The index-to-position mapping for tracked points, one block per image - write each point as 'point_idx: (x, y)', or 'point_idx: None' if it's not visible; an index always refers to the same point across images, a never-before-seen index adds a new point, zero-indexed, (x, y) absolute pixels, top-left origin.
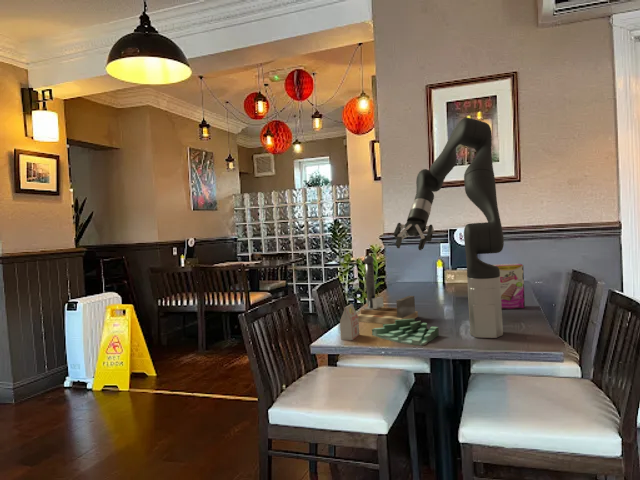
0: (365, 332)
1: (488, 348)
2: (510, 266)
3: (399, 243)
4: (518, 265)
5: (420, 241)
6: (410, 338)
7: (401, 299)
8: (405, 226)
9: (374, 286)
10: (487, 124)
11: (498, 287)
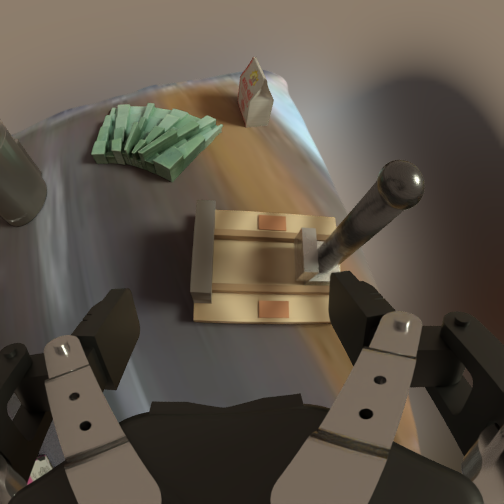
0: (244, 142)
1: (32, 135)
2: None
3: (340, 304)
4: None
5: (99, 317)
6: (135, 115)
7: (205, 217)
8: (438, 473)
9: (336, 239)
10: None
11: None
